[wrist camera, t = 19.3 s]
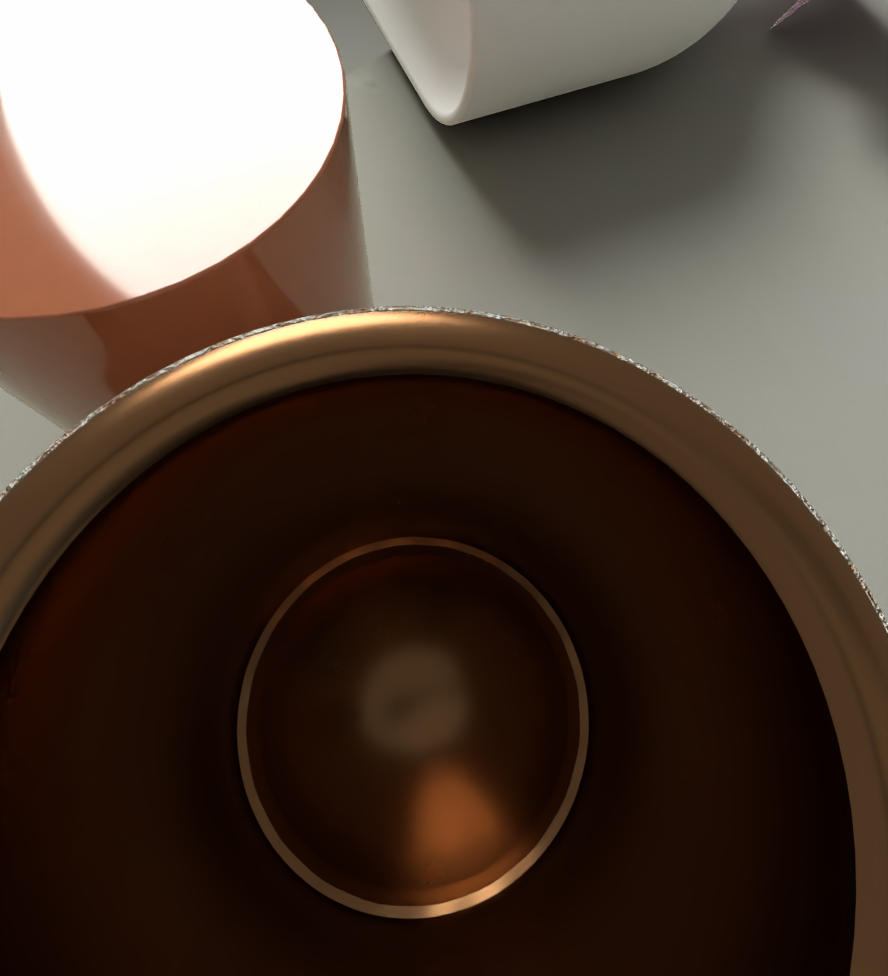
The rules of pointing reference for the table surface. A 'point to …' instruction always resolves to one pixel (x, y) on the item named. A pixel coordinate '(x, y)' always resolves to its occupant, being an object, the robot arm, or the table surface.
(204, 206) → the copper solid cylinder
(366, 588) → the planter
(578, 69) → the bottle
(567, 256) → the table surface
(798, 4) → the lily
